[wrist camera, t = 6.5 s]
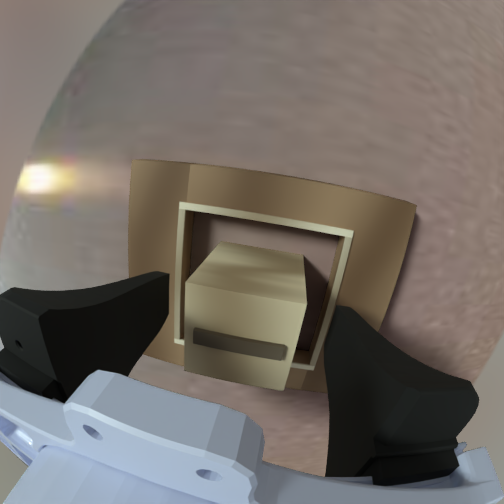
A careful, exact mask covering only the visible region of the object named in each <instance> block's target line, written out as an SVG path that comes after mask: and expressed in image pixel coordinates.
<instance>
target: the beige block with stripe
mask: <svg viewBox="0 0 504 504" xmlns="http://www.w3.org/2000/svg"><path fill="white" fill-rule="evenodd" d="M306 306H307V298H306V284H305V271H304V260H303V255H300V254H294V253H288V252H282V251H276V250H271V249H265V248H259V247H253V246H247V245H241V244H235V243H229V242H223V241H221V242H220V243H219V244H218V245H217V246H216V248H215V249H214V250H213V251H212V252H211V253H210V254H209V256H208V257H207V258H206V259H205V260H204V261H203V262H202V264H201V265H200V266H199V267H198V268H197V269H196V271H195V272H194V273H193V274H192V275H191V276H190V277H189V279H188V280H187V281H186V282H185V317H184V371H188V372H192V373H195V374H199V375H204V376H208V377H212V378H216V379H221V380H226V381H230V382H235V383H240V384H245V385H251V386H256V387H262V388H268V389H274V390H281V391H284V388H285V384H286V381H287V377H288V374H289V370H290V367H291V363H292V360H293V356H294V353H295V349H296V345H297V341H298V338H299V334H300V330H301V326H302V322H303V318H304V314H305V310H306Z"/></svg>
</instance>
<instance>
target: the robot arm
mask: <svg viewBox="0 0 504 504" xmlns="http://www.w3.org/2000/svg"><path fill="white" fill-rule="evenodd" d="M169 279H170V274H169V273H164V272H160V271H153V272H149V273H145V274H141V275H138V276H135V277H131V278H128V279H125V280H121V281H118V282H114V283H110V284H106V285H102V286H97V287H92V288H86V289H78V290H65V291H41V290H30V289H22V288H16V287H14V288H11V289H9V290H7V291H6V292H4V293H2V294H1V295H0V337H1V340H2V343H3V345H4V347H5V348H4V349H2V350H1V351H0V440H1V442H3V443H4V444H5V445H6V446H7V447H8V448H9V449H10V450H11V451H12V452H13V453H14V454H15V455H16V456H18V457H19V458H20V459H21V460H22V461H23V462H24V463H26V464H27V465H28V466H29V467H28V469H27V470H26V471H25V473H24V474H23V475H22V477H21V478H20V480H19V481H18V483H17V484H16V485H15V487H14V488H13V489H12V491H11V492H10V494H9V495H8V497H7V498H6V499H5V501H4V502H3V504H496V503H497V502H498V501H500V500H501V499H502V498H503V496H504V494H503V491H502V488H501V485H500V482H499V480H498V477H497V474H496V472H495V469H494V466H493V464H492V461H491V459H490V456H489V454H488V452H487V449H486V447H480V448H477V449H473V450H469V451H465V452H463V449H464V448H465V447H466V445H467V444H466V442H462V443H458V442H457V439H456V436H457V435H458V434H459V433H460V432H461V431H462V429H463V428H464V427H465V426H466V424H467V423H468V422H469V421H470V419H471V418H472V416H473V415H474V414H475V412H476V409H477V407H478V403H479V397H478V395H477V393H476V391H475V389H474V387H473V386H472V384H471V382H470V381H468V380H464V379H461V378H458V377H454V376H451V375H448V374H445V373H443V372H440V371H438V370H435V369H433V368H431V367H429V366H427V365H425V364H423V363H421V362H419V361H417V360H415V359H414V358H412V357H410V356H409V355H407V354H405V353H404V352H403V351H401V350H400V349H398V348H397V347H395V346H394V345H393V344H391V343H390V342H389V341H388V340H386V339H385V338H384V337H383V336H382V335H380V334H379V333H378V332H377V331H376V330H375V329H374V328H373V327H372V326H371V325H369V324H368V323H367V322H366V321H365V320H364V319H363V318H362V317H361V316H360V315H359V314H358V313H357V312H356V311H355V310H353V309H352V308H351V307H347V306H341V305H336V307H335V311H334V314H333V317H332V321H331V324H330V327H329V330H328V333H327V336H326V339H325V342H324V369H325V376H326V384H327V391H328V399H329V411H330V419H329V444H328V456H327V465H326V474H325V477H321V476H317V475H312V474H308V473H304V472H300V471H296V470H292V469H289V468H285V467H282V466H278V465H275V464H272V463H268V462H265V461H262V457H263V450H264V444H265V441H264V435H263V430H262V428H261V427H260V426H259V425H257V424H256V423H255V422H254V421H253V420H252V419H250V418H249V417H248V416H247V415H246V414H244V413H242V412H239V411H237V410H234V409H231V408H229V407H226V406H224V405H221V404H217V403H213V402H208V401H204V400H200V399H197V398H193V397H189V396H186V395H182V394H179V393H175V392H172V391H168V390H165V389H162V388H159V387H156V386H153V385H150V384H147V383H144V382H141V381H138V380H135V379H132V378H130V377H128V375H129V374H130V372H131V370H132V368H133V367H134V365H135V364H136V362H137V361H138V360H139V358H140V357H141V356H142V354H143V353H144V352H145V350H146V349H147V348H148V346H149V345H150V344H151V342H152V341H153V340H154V338H155V337H156V336H157V334H158V333H159V332H160V330H161V328H162V327H163V325H164V323H165V321H166V319H167V317H168V315H169Z"/></svg>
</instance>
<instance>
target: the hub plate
mask: <svg viewBox="0 0 504 504" xmlns="http://www.w3.org/2000/svg"><path fill="white" fill-rule="evenodd" d="M416 207H417V205H415V204H412V203H410V202H407V201H404V200H400V199H396V198H392V197H388V196H384V195H380V194H376V193H371V192H367V191H363V190H358V189H354V188H349V187H344V186H340V185H335V184H330V183H325V182H320V181H314V180H309V179H304V178H298V177H292V176H286V175H280V174H274V173H268V172H261V171H254V170H247V169H239V168H232V167H224V166H215V165H206V164H196V163H186V162H175V161H162V160H147V159H139V160H132V166H131V179H130V195H129V224H128V261H129V278H131V277H135V276H138V275H141V274H145V273H149V272H153V271H160V272H164V273H169V274H170V279H169V315H168V317H167V319H166V321H165V323H164V325H163V327H162V328H161V330H160V332H159V333H158V334H157V336H156V337H155V338H154V340H153V341H152V342H151V344H150V345H149V346H148V348H147V349H146V350H145V352H144V353H143V354H144V355H147V356H150V357H153V358H156V359H160V360H163V361H166V362H170V363H173V364H177V365H180V366H184V317H185V282H186V281H187V280H188V279H189V275H190V259H191V244H192V231H193V220H194V211H199V212H205V213H212V214H218V215H225V216H231V217H237V218H244V219H250V220H256V221H262V222H268V223H274V224H279V225H285V226H291V227H296V228H302V229H307V230H313V231H318V232H324V233H329V234H334V235H340V236H339V240H338V245H337V249H336V253H335V258H334V262H333V266H332V270H331V274H330V278H329V282H328V286H327V290H326V293H325V297H324V301H323V305H322V308H321V312H320V315H319V319H318V322H317V326H316V329H315V333H314V336H313V339H312V342H311V346H310V349H309V351H305V350H299V349H295V353H294V356H293V360H292V363H291V367H290V370H289V374H288V377H287V381H286V384H285V388H291V389H298V390H305V391H313V392H322V393H328V391H327V384H326V376H325V369H324V342H325V339H326V336H327V333H328V330H329V327H330V324H331V321H332V317H333V314H334V311H335V307H336V305H341V306H347V307H351V308H352V309H353V310H355V311H356V312H357V313H358V314H359V315H360V316H361V317H362V318H363V319H364V320H365V321H366V322H367V323H368V324H369V325H371V326H372V327H373V328H374V329H375V330H376V331H377V332H378V331H379V329H380V326H381V324H382V321H383V319H384V316H385V313H386V310H387V308H388V305H389V302H390V299H391V296H392V293H393V290H394V287H395V284H396V281H397V278H398V275H399V272H400V269H401V265H402V262H403V258H404V255H405V251H406V248H407V244H408V240H409V236H410V233H411V228H412V224H413V220H414V216H415V211H416Z"/></svg>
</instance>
